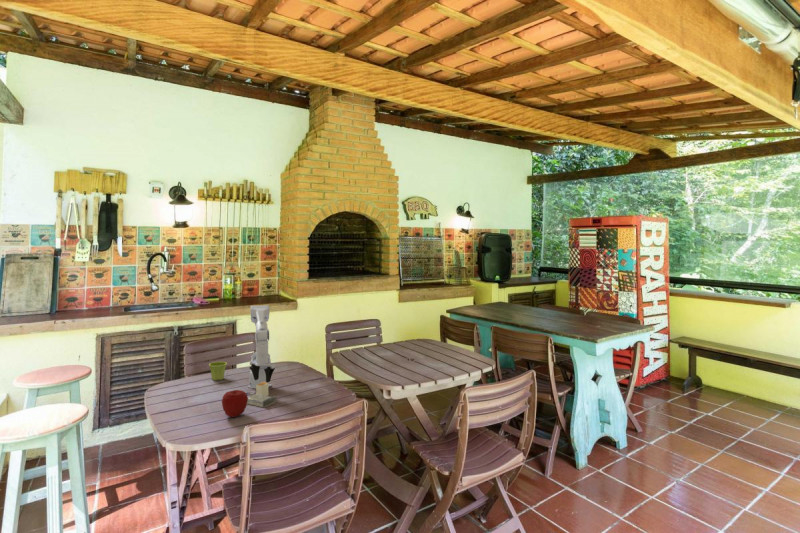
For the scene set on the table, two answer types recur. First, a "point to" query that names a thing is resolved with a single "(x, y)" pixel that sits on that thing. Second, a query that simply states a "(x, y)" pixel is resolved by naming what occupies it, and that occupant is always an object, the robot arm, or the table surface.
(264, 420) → the table surface
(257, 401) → the grey piece
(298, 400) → the table surface
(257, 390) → the block
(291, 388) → the table surface
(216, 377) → the plant pot
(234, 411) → the apple
